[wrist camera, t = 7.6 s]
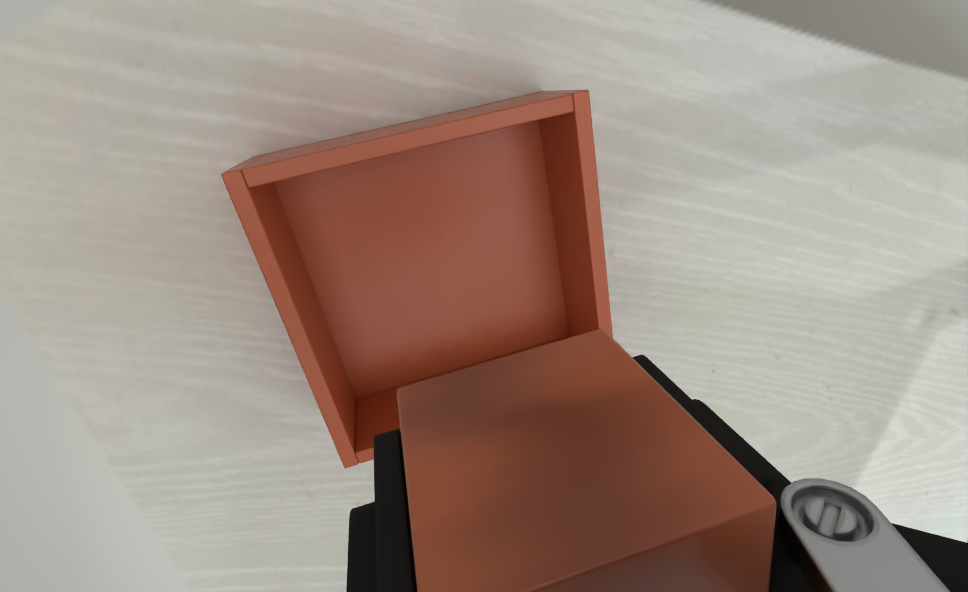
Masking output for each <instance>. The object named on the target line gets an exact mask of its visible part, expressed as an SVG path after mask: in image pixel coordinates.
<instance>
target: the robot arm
mask: <svg viewBox="0 0 968 592" xmlns="http://www.w3.org/2000/svg"><path fill="white" fill-rule="evenodd" d="M632 358H633V359H634V360H635V361H636V362H637V363H638V364H639V365H640V366H641V367H642V368H643V369H644V370H645V371H646V372H647V373H648V374H649V375H650V376H651V377H652V378H653V379H654V380H656V381H657V382H658V383H659V384H660V385H661V386H662V387H663V388H664V389H665V390H666V391H667V392H668V393H669V394H670V395H671V396H672V397H673V398H674V399H675V400H676V401H677V402H678V403H679V404H680V405H681V406H682V407H683V408H684V409H685V410H686V411H687V412H688V413H689V414H690V415H691V416H692V417H693V418H694V419H695V420H696V421H697V422H698V423H699V424H700V425H701V426H702V427H703V428H704V429H705V430H706V431H707V432H708V433H709V434H710V435H711V436H712V437H713V438H714V439H715V440H716V441H717V442H718V443H719V444H720V445H721V446H722V447H723V448H724V449H726V450H727V451H728V452H729V453H730V454H731V455H732V456H733V457H734V458H735V459H736V460H737V461H738V462H739V463H740V464H741V465H742V466H743V467H744V468H745V469H746V470H747V471H748V472H749V473H750V474H751V475H752V476H753V477H754V478H755V479H756V480H757V481H758V482H759V483H760V484H761V485H762V486H763V487H764V488H765V489H766V490H767V491H768V492H769V493H770V494H771V495H772V496H773V497H774V499H775V501H776V504H777V505H776V517H775V529H774V541H773V552H772V564H771V576H770V588H769V592H968V543H965V542H961V541H958V540H954V539H950V538H946V537H942V536H938V535H935V534H931V533H927V532H923V531H919V530H915V529H912V528H908V527H904V526H900V525H896V524H892V523H890V522H889V520H888V519H887V518H886V517H885V516H884V515H883V513H882V512H881V511H880V510H879V509H878V508H877V507H876V506H875V505H874V504H873V503H872V502H871V501H870V500H869V499H868V498H867V497H866V496H864V495H862V494H861V493H859V492H857V491H856V490H854V489H852V488H851V487H848V486H846V485H843V484H840V483H838V482H835V481H830V480H825V479H802V480H798V481H794V482H793V483H791V482H790V481H789V480H788V479H787V478H785V477H784V476H783V475H782V474H781V473H780V472H779V471H778V470H777V469H776V468H775V467H773V466H772V465H771V464H770V463H769V462H768V461H767V460H766V459H765V458H764V457H762V456H761V455H760V454H759V453H758V452H757V451H756V450H755V449H754V448H753V447H752V446H750V445H749V444H748V443H747V442H746V441H745V440H744V439H743V438H742V437H741V436H739V435H738V434H737V433H736V432H735V431H734V430H733V429H732V428H731V427H730V426H729V425H727V424H726V423H725V422H724V421H723V420H722V419H721V418H720V417H719V416H718V415H716V414H715V413H714V412H713V411H712V410H711V409H710V408H709V407H708V406H707V405H706V404H704V403H703V402H701V401H700V400H697V399H693V400H692V399H691V398H689V397H688V396H687V395H686V394H685V393H684V392H683V391H682V390H681V389H680V388H679V387H678V386H677V385H676V384H675V383H673V382H672V381H671V380H670V379H669V378H668V377H667V376H666V375H665V374H664V373H663V372H662V371H661V370H660V369H659V368H657V367H656V366H655V365H654V364H653V363H652V362H651V361H650V360H649V359H648V358H647V357H645V356H644V355H639V356H635V357H632ZM373 442H374V486H375V502H372V503H369V504H366V505H363V506H360V507H357V508H353V509H352V510H351V512H350V518H349V542H348V568H347V592H417V583H416V573H415V563H414V554H413V544H412V535H411V525H410V515H409V506H408V496H407V487H406V477H405V467H404V458H403V448H402V438H401V432H400V430H399V429H395V430H392V431H388V432H385V433H382V434H379V435H375V436H374V440H373Z"/></svg>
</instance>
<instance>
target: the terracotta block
mask: <svg viewBox="0 0 968 592" xmlns="http://www.w3.org/2000/svg"><path fill="white" fill-rule="evenodd" d="M397 400H398V410H399V419H400V429H401V438H402V448H403V458H404V467H405V477H406V487H407V496H408V506H409V515H410V525H411V535H412V544H413V554H414V563H415V573H416V583H417V592H769V588H770V576H771V564H772V552H773V541H774V529H775V517H776V505H777V504H776V501H775V499H774V497H773V496H772V495H771V494H770V493H769V492H768V491H767V490H766V489H765V488H764V487H763V486H762V485H761V484H760V483H759V482H758V481H757V480H756V479H755V478H754V477H753V476H752V475H751V474H750V473H749V472H748V471H747V470H746V469H745V468H744V467H743V466H742V465H741V464H740V463H739V462H738V461H737V460H736V459H735V458H734V457H733V456H732V455H731V454H730V453H729V452H728V451H727V450H726V449H724V448H723V447H722V446H721V445H720V444H719V443H718V442H717V441H716V440H715V439H714V438H713V437H712V436H711V435H710V434H709V433H708V432H707V431H706V430H705V429H704V428H703V427H702V426H701V425H700V424H699V423H698V422H697V421H696V420H695V419H694V418H693V417H692V416H691V415H690V414H689V413H688V412H687V411H686V410H685V409H684V408H683V407H682V406H681V405H680V404H679V403H678V402H677V401H676V400H675V399H674V398H673V397H672V396H671V395H670V394H669V393H668V392H667V391H666V390H665V389H664V388H663V387H662V386H661V385H660V384H659V383H658V382H657V381H656V380H654V379H653V378H652V377H651V376H650V375H649V374H648V373H647V372H646V371H645V370H644V369H643V368H642V367H641V366H640V365H639V364H638V363H637V362H636V361H635V360H634V359H633V358H632V357H631V356H630V355H629V354H628V353H627V352H626V351H625V350H624V349H623V348H622V347H621V346H620V345H619V344H618V343H617V342H616V341H615V340H614V339H613V338H612V337H611V336H610V335H609V334H608V333H607V332H606V331H605V330H604V329H598V330H594V331H591V332H588V333H584V334H581V335H577V336H574V337H570V338H567V339H564V340H560V341H557V342H553V343H550V344H547V345H543V346H540V347H536V348H533V349H530V350H526V351H523V352H519V353H516V354H512V355H509V356H506V357H502V358H499V359H495V360H492V361H489V362H485V363H482V364H478V365H475V366H471V367H468V368H465V369H461V370H458V371H454V372H451V373H448V374H444V375H441V376H437V377H434V378H431V379H427V380H424V381H420V382H417V383H413V384H410V385H407V386H403V387H400V388H398V389H397Z"/></svg>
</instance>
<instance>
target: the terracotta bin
mask: <svg viewBox="0 0 968 592" xmlns="http://www.w3.org/2000/svg"><path fill="white" fill-rule="evenodd" d="M221 176H222V178H223V181H224V183H225V185H226V188H227V190H228V192H229V195H230V197H231V200H232V202H233V204H234V207H235V209H236V211H237V214H238V216H239V219H240V221H241V223H242V226H243V228H244V230H245V233H246V235H247V238H248V240H249V242H250V245H251V247H252V249H253V252H254V254H255V257H256V259H257V261H258V264H259V266H260V268H261V271H262V273H263V275H264V278H265V280H266V283H267V285H268V287H269V290H270V292H271V294H272V297H273V299H274V302H275V304H276V306H277V309H278V311H279V313H280V316H281V318H282V321H283V323H284V325H285V328H286V330H287V332H288V335H289V337H290V340H291V342H292V344H293V347H294V349H295V351H296V354H297V356H298V359H299V361H300V363H301V366H302V368H303V370H304V373H305V375H306V378H307V380H308V382H309V385H310V387H311V389H312V392H313V394H314V397H315V399H316V401H317V404H318V406H319V408H320V411H321V413H322V416H323V418H324V420H325V423H326V425H327V427H328V430H329V432H330V435H331V437H332V439H333V442H334V444H335V446H336V449H337V451H338V454H339V456H340V458H341V461H342V463H343V465H344V468H348V467H351V466H354V465H357V464H358V463H363V462H366V461H369V460H372V459H374V442H373V440H374V436H375V435H379V434H382V433H385V432H388V431H392V430H395V429H399V430H400V432H401V429H400V419H399V410H398V400H397V389H398V388H400V387H403V386H407V385H410V384H413V383H417V382H420V381H424V380H427V379H431V378H434V377H437V376H441V375H444V374H448V373H451V372H454V371H458V370H461V369H465V368H468V367H471V366H475V365H478V364H482V363H485V362H489V361H492V360H495V359H499V358H502V357H506V356H509V355H512V354H516V353H519V352H523V351H526V350H530V349H533V348H536V347H540V346H543V345H547V344H550V343H553V342H557V341H560V340H564V339H567V338H570V337H574V336H577V335H581V334H584V333H588V332H591V331H594V330H598V329H604V330H605V331H606V332H607V333H608V334H609V335H610V336H611V337H612V338H613V334H612V324H611V314H610V303H609V293H608V283H607V273H606V262H605V252H604V242H603V231H602V221H601V211H600V201H599V190H598V180H597V170H596V159H595V149H594V139H593V128H592V118H591V108H590V98H589V90H561V91H542V92H537V93H533V94H529V95H524V96H520V97H515V98H511V99H506V100H502V101H498V102H493V103H489V104H484V105H480V106H476V107H471V108H467V109H462V110H458V111H454V112H449V113H445V114H440V115H436V116H432V117H427V118H423V119H418V120H414V121H409V122H405V123H401V124H396V125H392V126H387V127H383V128H379V129H374V130H370V131H365V132H361V133H357V134H352V135H348V136H343V137H339V138H335V139H330V140H326V141H321V142H317V143H312V144H308V145H304V146H299V147H295V148H290V149H286V150H282V151H277V152H273V153H268V154H264V155H260V156H255V157H252V158H250V159H248V160H246V161H244V162H242V163H241V164H239V165H237V166H235V167H233V168H231V169H230V170H228V171H226V172H224V173H222V174H221Z"/></svg>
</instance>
